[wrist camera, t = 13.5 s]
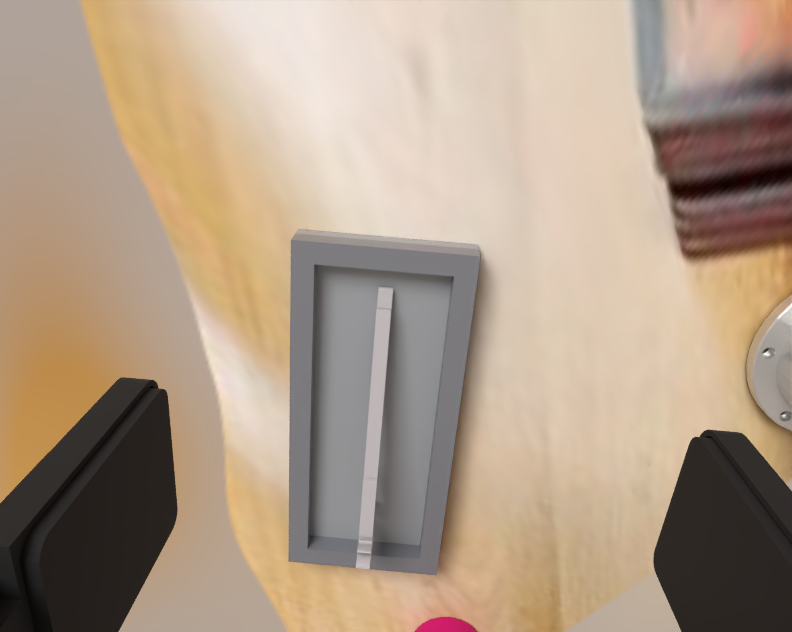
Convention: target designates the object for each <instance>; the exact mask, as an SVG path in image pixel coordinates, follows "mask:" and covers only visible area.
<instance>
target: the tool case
mask: <svg viewBox="0 0 792 632" xmlns="http://www.w3.org/2000/svg"><path fill="white" fill-rule="evenodd" d="M480 258H481V256H480V252H479V248H478V245H474V244H462V243H451V242H439V241H428V240H416V239H405V238H393V237H382V236H370V235H359V234H347V233H336V232H324V231H312V230H301V229H299V230H298V231H297V232H296V234H295V235H294V236H293V238H292V239H291V314H290V449H289V562H300V563H310V564H321V565H332V566H343V567H354V568H356V561H357V548H358V542H359V528H360V515H361V502H362V489H363V478H364V466H365V453H366V440H367V427H368V413H369V400H370V387H371V374H372V361H373V348H374V335H375V322H376V309H377V300H378V288H379V287H388V288H393V298H392V312H391V324H390V336H389V348H388V360H387V373H386V385H385V397H384V409H383V421H382V434H381V446H380V458H379V473H378V485H377V497H376V502H377V505H376V513H375V528H374V537H373V546H372V555H371V563H370V569H375V570H386V571H397V572H408V573H419V574H429V575H437V568H438V561H439V554H440V546H441V539H442V532H443V525H444V518H445V510H446V503H447V496H448V489H449V481H450V474H451V467H452V460H453V453H454V445H455V438H456V431H457V424H458V417H459V409H460V402H461V395H462V388H463V380H464V373H465V366H466V359H467V352H468V344H469V337H470V330H471V323H472V316H473V308H474V301H475V294H476V287H477V279H478V272H479V265H480Z"/></svg>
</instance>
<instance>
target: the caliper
mask: <svg viewBox="0 0 792 632" xmlns="http://www.w3.org/2000/svg"><path fill="white" fill-rule="evenodd" d="M392 298H393V288H388V287H379V288H378V300H377V309H376V322H375V335H374V348H373V361H372V374H371V387H370V400H369V413H368V427H367V440H366V453H365V466H364V478H363V489H362V502H361V515H360V528H359V542H358V548H357V561H356V568H361V569H370V563H371V555H372V546H373V537H374V528H375V513H376V505H377V502H376V497H377V485H378V473H379V458H380V446H381V434H382V421H383V409H384V397H385V385H386V373H387V360H388V348H389V336H390V324H391V312H392Z"/></svg>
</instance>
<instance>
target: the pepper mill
mask: <svg viewBox="0 0 792 632" xmlns="http://www.w3.org/2000/svg"><path fill="white" fill-rule="evenodd" d="M415 632H477V631H476V630H475V629H474V628H473V627H472V626H471V625H470V624H468V623H466V622H464V621H462V620H460V619H455V618H450V617H441V618H436V619H431V620H429V621H427V622H425V623H423V624H422V625H420V626H419V627H418V628H417V630H416V631H415Z"/></svg>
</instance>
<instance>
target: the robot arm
mask: <svg viewBox="0 0 792 632" xmlns="http://www.w3.org/2000/svg"><path fill="white" fill-rule="evenodd" d="M746 371H747V382H748V386H749V389H750V392H751V395H752V396H753V398H754V400H755V401H756V403H757V405H758V406H759V407H760V408H761V409H762V410H763V411H764V412H765V414H766V415H767V416H768V417H769V418H771V419H772V420H773V421H774V422H775V423H777V424H778V425H780V426H782V427H784V428H786V429H788V430H790V431H792V294H791V295H790V296H789V297H788V298H786V299H785V300H784V301H783V302H781V303H780V304H779V305H778V306H777V307H776V308H775V309H774V310H773V311H772V312H771V314H770V315H769V316H768V317H767V318H766V319H765V320H764V322H763V324H762V325H761V327H760V328H759V330H758V331H757V333H756V335H755V337H754V339H753V342H752V344H751V347H750V349H749V353H748V359H747V364H746ZM176 517H177V498H176V486H175V474H174V463H173V451H172V440H171V428H170V416H169V405H168V396H167V392H166V390H164V389H159V388H158V385H157V383H156V382H155V381H154V380H146V379H135V378H120V379H118V380H117V381H116V382H115V383H114V384H113V385H112V387H110V389H109V390H108V391H107V392H106V393H105V394H104V395H103V396H102V397H101V398H100V399H99V400H98V401H97V403H96V404H94V406H93V407H92V408H91V409H90V410H89V411H88V412H87V413H86V414H85V415H84V416H83V417H82V418H81V419H80V420H79V421H78V423H77V424H76V425H75V426H74V427H73V428H72V429H71V430H70V431H69V432H68V433H67V434H66V435H65V436H64V437H63V438H62V439H61V440H60V442H59V443H58V444H57V445H56V446H55V447H54V448H53V449H52V450H51V451H50V452H49V453H48V454H47V455H46V456H45V457H44V458H43V459H42V460H41V461H40V462H39V463H38V464H37V465H36V467H34V469H33V470H32V471H31V472H30V473H29V474H28V475H27V476H26V477H25V478H24V479H23V480H22V481H21V482H20V483H19V484H18V485H17V486H16V487H15V489H14V490H13V491H12V492H11V493H10V494H9V495H8V496H7V497H6V498H5V499H4V500H3V501H2V502H1V503H0V632H118V631H119V630H120V628H121V626H122V624H123V622H124V620H125V618H126V616H127V615H128V613H129V611H130V609H131V607H132V605H133V603H134V601H135V599H136V598H137V596H138V594H139V592H140V590H141V588H142V586H143V584H144V583H145V581H146V579H147V577H148V575H149V573H150V571H151V569H152V567H153V566H154V564H155V562H156V560H157V558H158V556H159V554H160V552H161V551H162V549H163V547H164V545H165V543H166V541H167V539H168V537H169V535H170V534H171V532H172V530H173V527H174V525H175V521H176ZM654 568H655V572H656V575H657V577H658V579H659V582H660V584H661V586H662V588H663V591H664V593H665V595H666V597H667V600H668V602H669V604H670V606H671V609H672V611H673V613H674V615H675V618H676V620H677V622H678V624H679V627H680V629H681V631H682V632H792V491H791V490H790V489H789V487H788V486H787V485H786V484H785V483H784V481H783V480H782V479H781V478H780V477H779V475H778V474H777V473H776V472H775V471H774V469H773V468H772V467H771V466H770V465H769V463H768V462H767V461H766V460H765V459H764V458H763V456H762V455H761V454H760V453H759V452H758V450H757V449H756V448H755V447H754V446H753V444H752V443H751V442H750V441H749V440H748V438H747V437H746V436H745V435H743V434H742V433H738V432H727V431H716V430H706V431H704V432H703V433H702V434H701V435H700V437H694V438H693V439H692V440H691V442H690V444H689V447H688V450H687V453H686V456H685V459H684V462H683V465H682V468H681V471H680V474H679V477H678V480H677V483H676V487H675V490H674V493H673V496H672V499H671V502H670V505H669V508H668V511H667V514H666V517H665V520H664V523H663V527H662V530H661V533H660V536H659V539H658V542H657V545H656V548H655V552H654Z"/></svg>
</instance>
